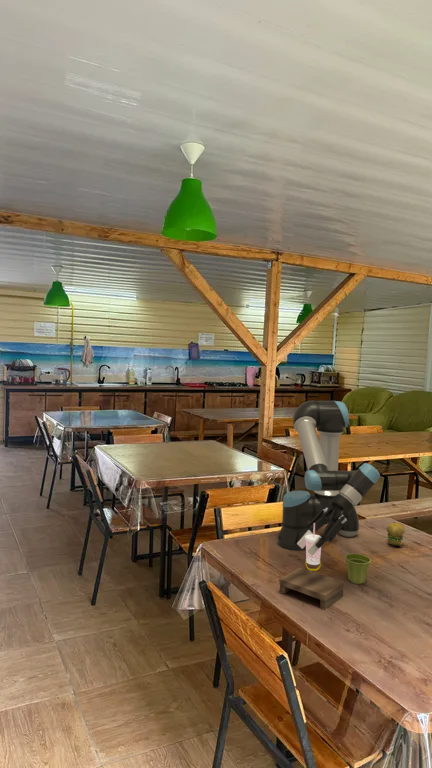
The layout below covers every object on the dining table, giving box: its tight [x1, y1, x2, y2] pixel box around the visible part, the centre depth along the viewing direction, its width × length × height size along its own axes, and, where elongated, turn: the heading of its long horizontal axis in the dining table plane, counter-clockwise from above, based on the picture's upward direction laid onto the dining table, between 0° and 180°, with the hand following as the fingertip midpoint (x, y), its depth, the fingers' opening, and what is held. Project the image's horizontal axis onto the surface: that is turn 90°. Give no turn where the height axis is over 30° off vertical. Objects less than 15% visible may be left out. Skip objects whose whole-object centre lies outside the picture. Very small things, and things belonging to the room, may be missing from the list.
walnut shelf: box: [278, 566, 345, 610], centre depth 182 cm, size 18×14×5 cm
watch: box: [304, 560, 322, 572], centre depth 203 cm, size 6×3×6 cm, turn 89°
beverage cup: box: [305, 523, 322, 566], centre depth 180 cm, size 6×6×14 cm
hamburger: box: [386, 520, 406, 547], centre depth 231 cm, size 8×7×12 cm
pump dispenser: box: [338, 506, 360, 538], centre depth 243 cm, size 10×10×15 cm
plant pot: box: [344, 553, 372, 585], centre depth 194 cm, size 9×9×9 cm
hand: (304, 549), depth 179 cm, fingers closed on beverage cup, 6 cm apart
